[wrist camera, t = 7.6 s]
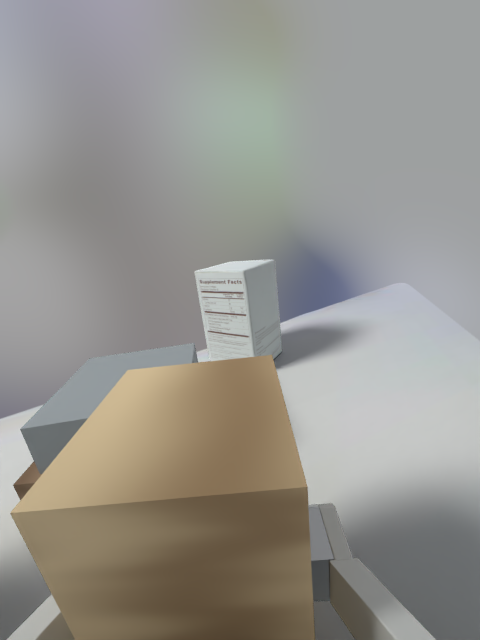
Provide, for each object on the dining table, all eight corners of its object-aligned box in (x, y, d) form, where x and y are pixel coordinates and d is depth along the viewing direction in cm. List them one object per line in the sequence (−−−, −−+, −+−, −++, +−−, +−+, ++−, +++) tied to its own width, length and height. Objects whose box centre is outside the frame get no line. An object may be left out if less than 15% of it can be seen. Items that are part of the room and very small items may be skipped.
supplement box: (239, 344, 41) (229, 260, 37) (283, 351, 37) (277, 258, 33) (208, 366, 35) (192, 270, 32) (256, 377, 31) (244, 268, 27)
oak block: (157, 800, 8) (10, 512, 5) (187, 591, 13) (127, 370, 9) (322, 791, 8) (307, 486, 4) (291, 584, 13) (272, 354, 9)
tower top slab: (39, 474, 17) (20, 429, 16) (99, 390, 27) (89, 358, 26) (195, 446, 18) (186, 402, 17) (200, 374, 27) (194, 343, 26)
